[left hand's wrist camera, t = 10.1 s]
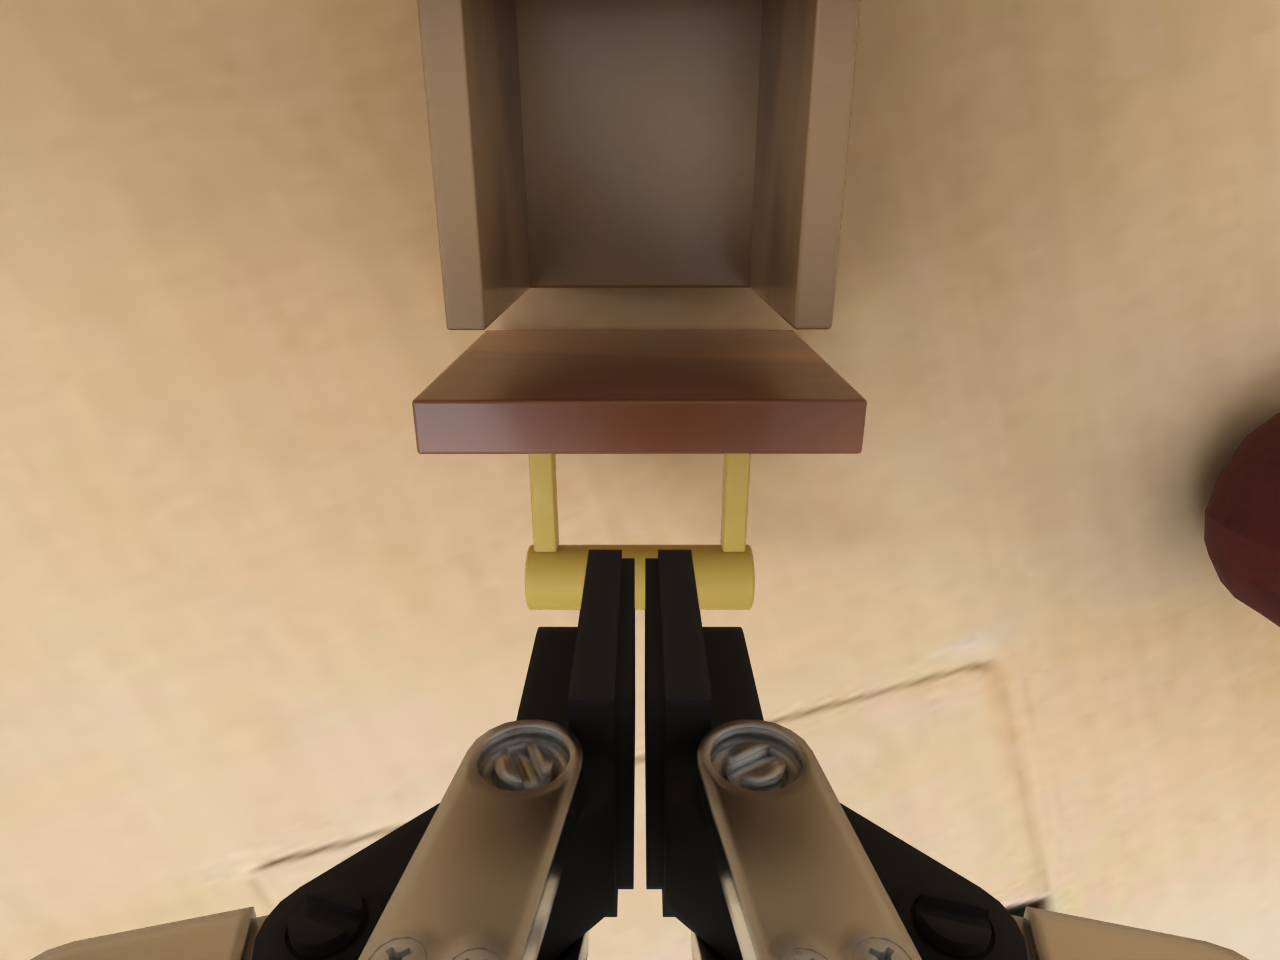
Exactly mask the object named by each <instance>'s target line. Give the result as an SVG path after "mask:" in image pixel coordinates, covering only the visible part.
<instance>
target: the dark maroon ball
mask: <svg viewBox="0 0 1280 960" xmlns="http://www.w3.org/2000/svg"><path fill="white" fill-rule="evenodd" d="M1204 540H1205V544H1206V547H1207V551H1208V554H1209V557H1210V559H1211V561H1212V563H1213V565H1214V568H1215V570H1216V572H1217V574H1218V576H1219V579H1220V581H1221V582H1222V583H1223V584H1224V585H1225V587H1226V588H1227V589H1228V590H1229V591H1230V592H1231V594H1232V595H1233V596H1234V597H1235V598H1236V599H1238V600H1240V601H1241V602H1243V603H1244V604H1246V605H1248V606H1249V607H1251V608H1252V609H1254V610H1255V611H1257V612H1259V613H1260V614H1262V615H1263V616H1265V617H1266V618H1267V619H1269V620H1270V621H1272V622H1273V623H1275V624H1276V625H1278V626H1279V627H1280V413H1278V414H1277V415H1275V416H1274V417H1272V418H1271V419H1270V420H1268V421H1267V422H1265V423H1264V424H1263V425H1261V426H1260V427H1259V428H1257V429H1256V430H1254V431H1253V432H1252V433H1250V434H1249V435H1247V437H1246V438H1245V439H1244V441H1243V442H1242V444H1241V445H1240V446H1239V448H1238V449H1237V450H1236V452H1235V453H1234V455H1233V456H1232V457H1231V459H1230V460H1229V461H1228V463H1227V464H1226V465H1225V467H1224V468H1223V470H1222V471H1221V473H1220V476H1219V478H1218V481H1217V483H1216V486H1215V488H1214V491H1213V493H1212V496H1211V498H1210V501H1209V503H1208V506H1207V508H1206V511H1205V539H1204Z"/></svg>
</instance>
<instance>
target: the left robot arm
mask: <svg viewBox="0 0 1280 960" xmlns="http://www.w3.org/2000/svg"><path fill="white" fill-rule="evenodd" d="M634 779H635V558H622V550H589V552H588V559H587V566H586V573H585V580H584V587H583V594H582V601H581V608H580V615H579V622H578V627H539V628H538V630H537V633H536V638H535V642H534V646H533V651H532V655H531V659H530V664H529V668H528V672H527V677H526V681H525V685H524V690H523V694H522V698H521V703H520V707H519V711H518V716H517V720H516V721H513V722H508V723H504V724H502V725H500V726H497V727H495V728H493V729H490V730H489V731H487V732H486V733H485V734H483V735H482V736H481V737H479V738H478V739H476V741H475V742H474V743H473V745H472V746H471V747H470V749H469V750H468V751H467V753H466V755H465V757H464V759H463V761H462V763H461V764H460V766H459V768H458V770H457V772H456V774H455V776H454V778H453V780H452V782H451V784H450V785H449V787H448V789H447V791H446V793H445V795H444V797H443V799H442V801H441V803H439V804H437V805H436V806H434V807H432V808H431V809H429V810H427V811H426V812H424V813H422V814H421V815H419V816H418V817H416V818H414V819H413V820H411V821H409V822H408V823H406V824H404V825H403V826H401V827H399V828H398V829H396V830H394V831H393V832H391V833H389V834H388V835H386V836H384V837H383V838H381V839H379V840H378V841H376V842H374V843H373V844H371V845H369V846H368V847H366V848H364V849H363V850H361V851H359V852H358V853H356V854H354V855H353V856H351V857H349V858H348V859H346V860H344V861H343V862H341V863H340V864H338V865H336V866H335V867H333V868H331V869H330V870H328V871H326V872H325V873H323V874H321V875H320V876H318V877H316V878H315V879H313V880H311V881H310V882H308V883H306V884H305V885H303V886H301V887H300V888H298V889H297V890H296V891H294V892H293V893H292V894H290V895H289V896H288V897H286V898H285V899H284V900H282V901H281V902H280V903H279V904H278V905H277V906H276V908H275V909H274V910H273V911H272V912H271V913H270V914H269V915H267V916H262V917H257V918H256V914H255V910H254V907H249V908H244V909H239V910H233V911H228V912H223V913H218V914H213V915H208V916H203V917H197V918H192V919H187V920H182V921H177V922H172V923H167V924H161V925H156V926H151V927H146V928H141V929H136V930H131V931H125V932H120V933H115V934H110V935H105V936H100V937H95V938H90V939H84V940H79V941H74V942H71V943H68V944H65V945H62V946H59V947H56V948H53V949H50V950H47V951H45V952H43V953H41V954H40V955H38V956H36V957H34V958H33V959H31V960H587V957H588V946H589V930H590V929H591V928H592V927H593V926H594V925H596V924H597V923H598V922H599V921H600V920H602V919H603V918H604V917H617V902H618V889H633V885H634ZM645 779H646V886H647V889H662V902H663V917H676V918H677V919H678V920H680V921H681V922H682V923H683V924H684V925H686V926H687V927H688V928H689V929H690V930H691V946H692V957H693V960H1249V959H1247V958H1246V957H1244V956H1242V955H1240V954H1239V953H1237V952H1235V951H1233V950H1230V949H1227V948H1224V947H1221V946H1218V945H1215V944H1212V943H1209V942H1206V941H1201V940H1196V939H1190V938H1185V937H1180V936H1175V935H1170V934H1165V933H1160V932H1155V931H1149V930H1144V929H1139V928H1134V927H1129V926H1124V925H1119V924H1113V923H1108V922H1103V921H1098V920H1093V919H1088V918H1083V917H1077V916H1072V915H1067V914H1062V913H1057V912H1052V911H1047V910H1041V909H1036V908H1031V907H1026V910H1025V914H1024V918H1023V917H1018V916H1013V915H1011V914H1010V913H1009V912H1008V911H1007V910H1006V909H1005V908H1004V906H1003V905H1002V904H1001V903H1000V902H999V901H998V900H996V899H995V898H994V897H992V896H991V895H990V894H988V893H987V892H986V891H984V890H983V889H982V888H980V887H979V886H977V885H975V884H974V883H972V882H970V881H969V880H967V879H965V878H964V877H962V876H960V875H959V874H957V873H955V872H954V871H952V870H950V869H949V868H947V867H945V866H944V865H942V864H940V863H939V862H937V861H936V860H934V859H932V858H931V857H929V856H927V855H926V854H924V853H922V852H921V851H919V850H917V849H916V848H914V847H912V846H911V845H909V844H907V843H906V842H904V841H902V840H901V839H899V838H897V837H896V836H894V835H892V834H891V833H889V832H887V831H886V830H884V829H882V828H881V827H879V826H877V825H876V824H874V823H872V822H871V821H869V820H867V819H866V818H864V817H862V816H861V815H859V814H858V813H856V812H854V811H853V810H851V809H849V808H848V807H846V806H844V805H843V804H841V803H839V801H838V799H837V797H836V795H835V793H834V791H833V789H832V787H831V785H830V784H829V782H828V780H827V778H826V776H825V774H824V772H823V770H822V768H821V766H820V764H819V763H818V761H817V759H816V757H815V755H814V753H813V751H812V750H811V749H810V747H809V746H808V745H807V743H806V742H805V741H804V739H802V738H801V737H799V736H798V735H797V734H795V733H794V732H793V731H791V730H790V729H787V728H785V727H783V726H780V725H778V724H776V723H772V722H767V721H764V720H763V716H762V711H761V707H760V703H759V698H758V694H757V690H756V685H755V681H754V677H753V672H752V668H751V664H750V659H749V655H748V651H747V646H746V642H745V638H744V633H743V630H742V628H741V627H702V622H701V615H700V608H699V601H698V594H697V587H696V580H695V573H694V566H693V559H692V552H691V550H658V558H645Z"/></svg>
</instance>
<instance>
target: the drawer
mask: <svg viewBox="0 0 1280 960" xmlns="http://www.w3.org/2000/svg"><path fill="white" fill-rule="evenodd" d="M417 2H418V13H419V25H420V36H421V47H422V58H423V69H424V80H425V91H426V102H427V113H428V124H429V135H430V146H431V157H432V168H433V180H434V191H435V202H436V213H437V224H438V235H439V246H440V257H441V268H442V279H443V290H444V301H445V312H446V323H447V328H448V329H449V330H484V329H486V328H487V327H488V326H489V325H490V324H491V323H492V322H493V321H494V320H495V319H496V318H498V317H499V316H500V315H501V314H502V313H503V312H504V311H505V310H506V309H507V308H508V307H509V306H510V305H512V304H513V303H514V302H515V301H516V300H517V299H518V298H519V297H520V296H521V295H522V294H523V293H524V292H526V291H527V290H528V289H529V288H751V289H752V290H753V291H754V292H756V293H757V294H758V295H759V296H760V297H761V298H762V299H763V300H764V301H765V302H766V303H767V304H768V305H770V306H771V307H772V308H773V309H774V310H775V311H776V312H777V313H778V314H779V315H780V316H781V317H782V318H784V319H785V320H786V321H787V322H788V323H789V324H790V325H791V326H792V327H793V328H795V329H829V328H831V326H832V318H833V306H834V295H835V284H836V272H837V261H838V249H839V238H840V227H841V215H842V204H843V193H844V181H845V170H846V158H847V147H848V136H849V124H850V113H851V102H852V90H853V79H854V67H855V56H856V45H857V33H858V22H859V11H860V0H417ZM412 406H413V415H414V424H415V433H416V442H417V451H418V453H420V454H529V468H530V486H531V504H532V521H533V539H534V545H531V546H530V547H529V549H528V552H527V557H526V567H525V594H526V602H527V606H528V608H529V609H531V610H580V608H581V601H582V594H583V587H584V580H585V573H586V566H587V559H588V552H589V550H622V558H635V610H645V558H658V550H691V552H692V559H693V566H694V573H695V580H696V587H697V594H698V601H699V608H700V610H749V609H751V607H752V604H753V600H754V585H755V576H754V561H753V554H752V550H751V547H750V546H749V545H746V530H747V511H748V492H749V473H750V455H751V454H858V453H861V451H862V443H863V434H864V424H865V415H866V406H867V402H866V400H865V399H864V398H863V397H862V396H861V395H860V394H859V393H858V392H857V391H856V390H855V389H854V388H853V387H852V386H851V385H850V384H848V383H847V382H846V381H845V380H844V379H843V378H842V377H841V376H840V375H839V374H838V373H837V372H836V371H835V370H834V369H833V368H832V367H831V366H830V365H828V364H827V363H826V362H825V361H824V360H823V359H822V358H821V357H820V356H819V355H818V354H817V353H816V352H815V351H814V350H813V349H812V348H811V347H810V346H809V345H807V344H806V343H805V342H804V341H803V340H802V339H801V338H800V337H799V336H798V335H797V334H796V333H795V332H794V331H792V330H667V331H486V332H485V333H484V334H483V335H482V336H481V337H479V338H478V339H477V340H476V341H475V342H474V343H473V344H472V345H471V346H470V347H469V348H468V349H467V350H466V351H465V352H464V353H463V354H462V355H461V356H459V357H458V358H457V359H456V360H455V361H454V362H453V363H452V364H451V365H450V366H449V367H448V368H447V369H446V370H445V371H444V372H443V373H442V374H440V375H439V376H438V377H437V378H436V379H435V380H434V381H433V382H432V383H431V384H430V385H429V386H428V387H427V388H426V389H425V390H424V391H423V392H422V393H420V394H419V395H418V396H417V397H416V398H415V399H414V400H413V402H412ZM555 454H724V472H723V497H722V522H721V545H558V543H559V534H558V511H557V488H556V464H555Z"/></svg>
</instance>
